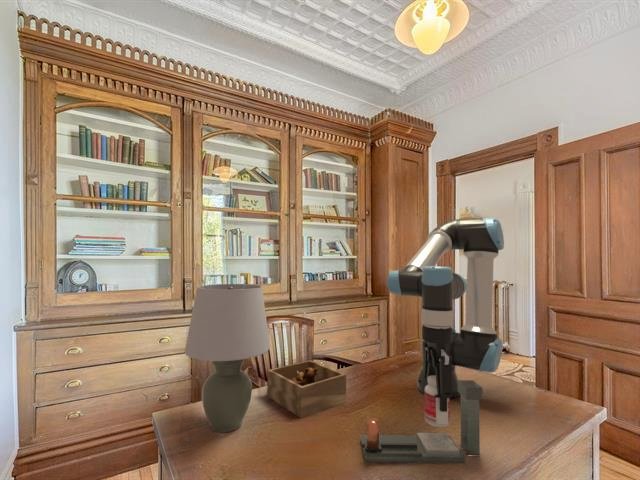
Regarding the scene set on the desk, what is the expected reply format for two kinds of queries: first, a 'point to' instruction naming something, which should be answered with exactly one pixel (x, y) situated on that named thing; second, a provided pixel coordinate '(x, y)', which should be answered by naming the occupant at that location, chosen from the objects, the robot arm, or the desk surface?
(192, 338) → the lamp
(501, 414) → the desk surface
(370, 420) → the lever
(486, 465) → the desk surface
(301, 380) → the bear figurine
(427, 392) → the pill bottle
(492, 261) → the robot arm
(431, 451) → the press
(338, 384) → the bear crate
